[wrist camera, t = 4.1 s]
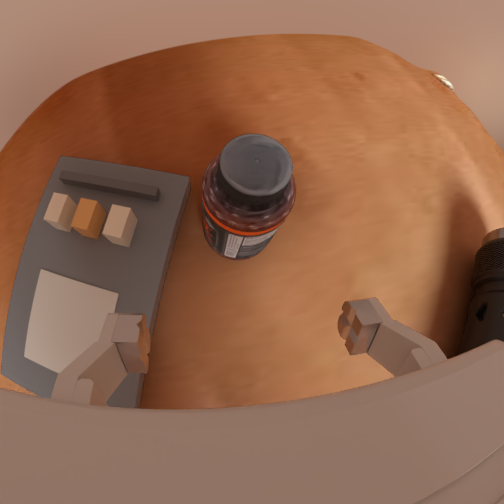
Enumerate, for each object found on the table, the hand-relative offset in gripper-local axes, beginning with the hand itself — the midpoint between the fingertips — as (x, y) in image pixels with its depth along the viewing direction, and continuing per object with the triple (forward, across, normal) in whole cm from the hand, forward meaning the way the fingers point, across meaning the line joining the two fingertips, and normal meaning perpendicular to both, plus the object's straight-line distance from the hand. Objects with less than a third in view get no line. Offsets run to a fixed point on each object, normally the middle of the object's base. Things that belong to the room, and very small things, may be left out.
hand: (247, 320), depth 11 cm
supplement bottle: (+15, -1, +3) cm, 15 cm away
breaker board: (+12, +12, +6) cm, 18 cm away
